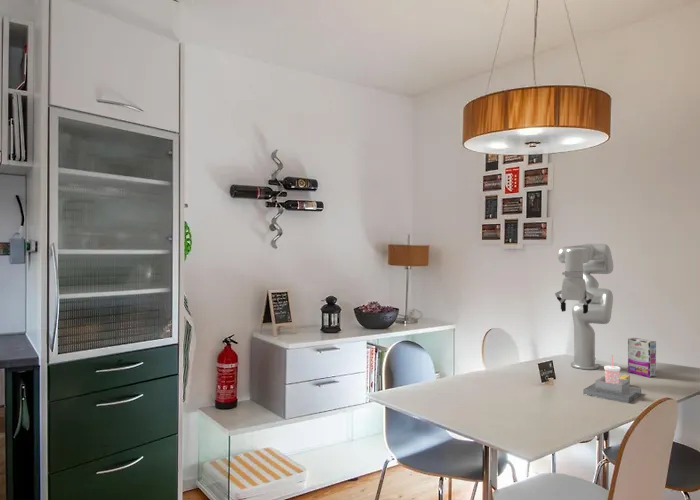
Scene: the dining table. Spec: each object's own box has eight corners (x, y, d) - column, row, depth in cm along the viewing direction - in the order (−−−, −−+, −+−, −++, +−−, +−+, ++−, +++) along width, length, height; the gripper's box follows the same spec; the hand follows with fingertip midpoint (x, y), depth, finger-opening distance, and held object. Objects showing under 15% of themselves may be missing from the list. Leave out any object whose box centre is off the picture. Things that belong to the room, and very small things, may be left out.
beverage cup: (605, 386, 217) (605, 352, 217) (622, 388, 213) (622, 354, 213) (602, 389, 212) (602, 355, 212) (618, 391, 209) (618, 357, 208)
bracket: (616, 382, 229) (616, 370, 229) (636, 386, 224) (636, 373, 224) (606, 389, 219) (606, 376, 219) (626, 393, 214) (626, 379, 214)
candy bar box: (656, 376, 239) (656, 341, 239) (649, 377, 237) (649, 342, 237) (634, 371, 249) (634, 337, 249) (627, 372, 247) (627, 338, 247)
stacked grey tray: (597, 385, 225) (597, 373, 225) (641, 393, 213) (641, 380, 213) (583, 394, 213) (583, 381, 212) (628, 403, 201) (628, 388, 201)
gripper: (552, 274, 241) (552, 311, 241) (590, 276, 229) (591, 315, 229) (558, 274, 246) (558, 309, 246) (596, 275, 234) (596, 313, 234)
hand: (574, 312), depth 238 cm, fingers open, 9 cm apart
